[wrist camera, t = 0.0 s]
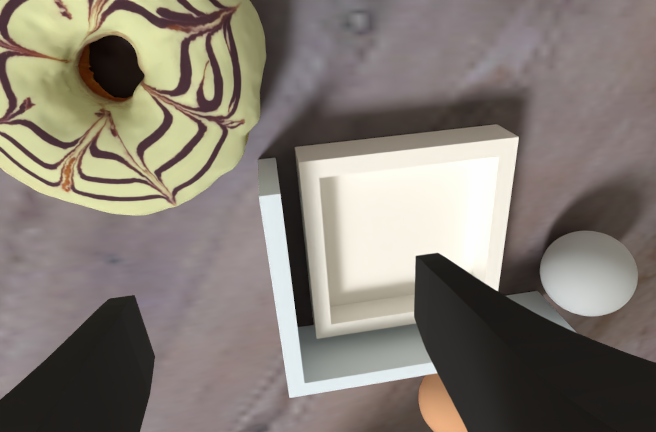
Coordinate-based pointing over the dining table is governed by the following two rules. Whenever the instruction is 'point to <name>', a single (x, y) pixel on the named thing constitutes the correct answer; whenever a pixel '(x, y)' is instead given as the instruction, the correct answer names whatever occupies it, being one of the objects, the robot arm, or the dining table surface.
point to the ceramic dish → (400, 218)
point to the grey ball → (588, 273)
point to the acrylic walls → (350, 349)
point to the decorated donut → (128, 99)
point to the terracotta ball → (438, 406)
